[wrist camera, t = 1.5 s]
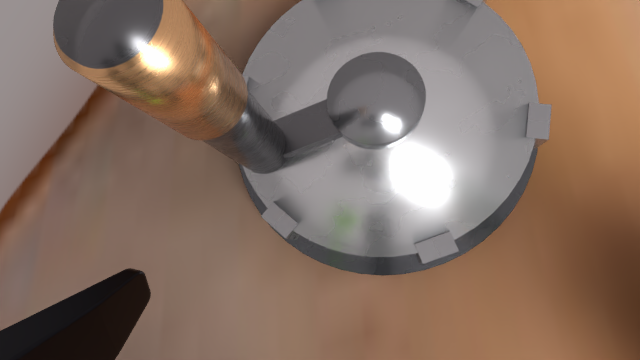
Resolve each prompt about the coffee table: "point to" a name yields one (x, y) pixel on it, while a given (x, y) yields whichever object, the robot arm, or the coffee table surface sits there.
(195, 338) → the coffee table surface
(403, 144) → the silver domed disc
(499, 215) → the plate
